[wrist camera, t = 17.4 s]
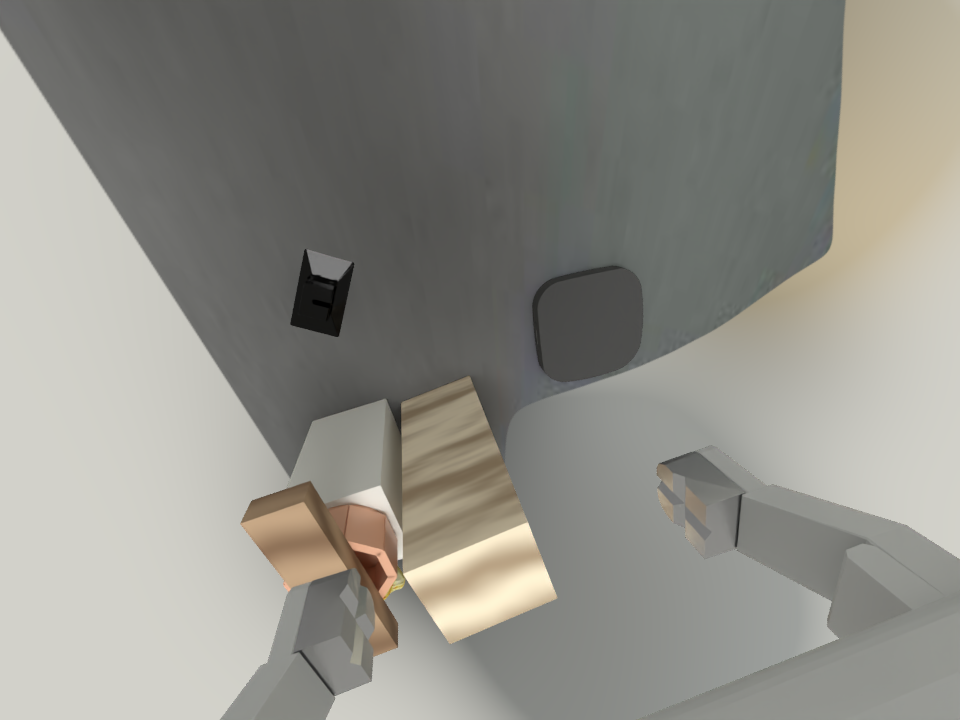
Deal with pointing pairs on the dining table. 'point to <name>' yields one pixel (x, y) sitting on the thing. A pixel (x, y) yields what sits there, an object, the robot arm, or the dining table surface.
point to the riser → (356, 462)
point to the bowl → (369, 542)
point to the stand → (464, 517)
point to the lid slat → (312, 548)
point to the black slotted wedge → (322, 293)
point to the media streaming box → (588, 323)
